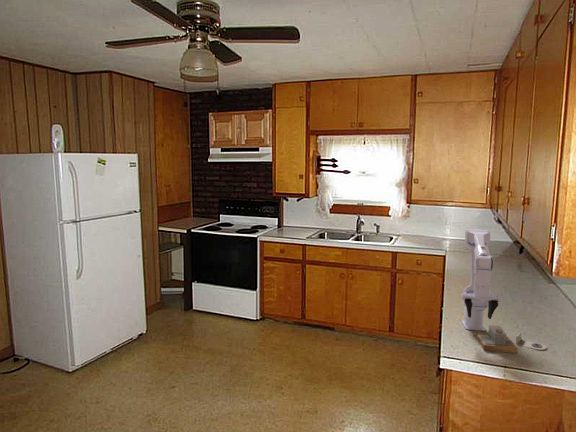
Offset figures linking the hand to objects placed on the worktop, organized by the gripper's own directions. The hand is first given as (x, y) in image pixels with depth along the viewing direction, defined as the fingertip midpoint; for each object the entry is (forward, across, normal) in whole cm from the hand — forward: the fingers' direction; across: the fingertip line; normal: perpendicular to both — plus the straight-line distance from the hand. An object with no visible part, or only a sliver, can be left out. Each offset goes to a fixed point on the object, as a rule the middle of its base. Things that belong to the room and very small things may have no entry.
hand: (479, 317), depth 167 cm
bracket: (+10, +20, 0) cm, 23 cm away
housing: (+8, +6, -4) cm, 10 cm away
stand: (+10, +6, -4) cm, 12 cm away
